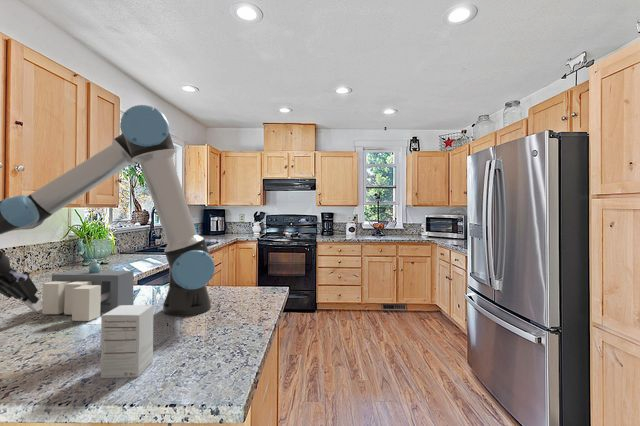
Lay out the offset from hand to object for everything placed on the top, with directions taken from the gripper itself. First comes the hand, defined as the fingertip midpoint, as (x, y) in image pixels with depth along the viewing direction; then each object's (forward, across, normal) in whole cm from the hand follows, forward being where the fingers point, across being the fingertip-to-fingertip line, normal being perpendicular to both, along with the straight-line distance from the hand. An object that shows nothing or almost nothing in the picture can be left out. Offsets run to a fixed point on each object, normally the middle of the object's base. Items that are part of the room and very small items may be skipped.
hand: (38, 307), depth 99 cm
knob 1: (+10, 0, +5) cm, 11 cm away
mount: (+10, +7, +5) cm, 14 cm away
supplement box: (-18, +46, -24) cm, 55 cm away
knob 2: (+6, +14, +1) cm, 15 cm away
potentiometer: (+4, +7, +16) cm, 18 cm away
